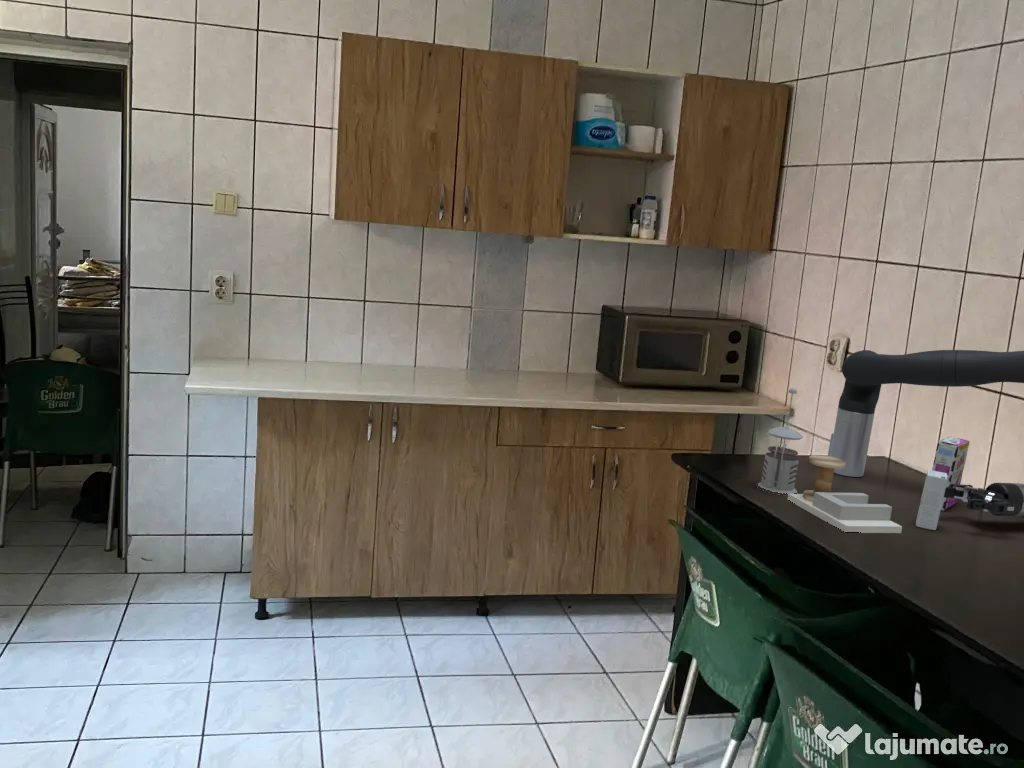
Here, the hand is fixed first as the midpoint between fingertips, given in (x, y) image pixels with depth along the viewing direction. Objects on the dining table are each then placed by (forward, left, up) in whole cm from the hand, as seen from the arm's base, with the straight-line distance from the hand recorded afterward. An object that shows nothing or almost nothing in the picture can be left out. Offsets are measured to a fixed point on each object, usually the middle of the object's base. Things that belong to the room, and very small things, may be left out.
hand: (954, 498), depth 207 cm
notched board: (-6, -24, -7) cm, 26 cm away
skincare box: (0, -6, -7) cm, 9 cm away
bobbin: (-13, -25, -5) cm, 29 cm away
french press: (-25, -29, -7) cm, 39 cm away
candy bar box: (-15, +11, -7) cm, 20 cm away
